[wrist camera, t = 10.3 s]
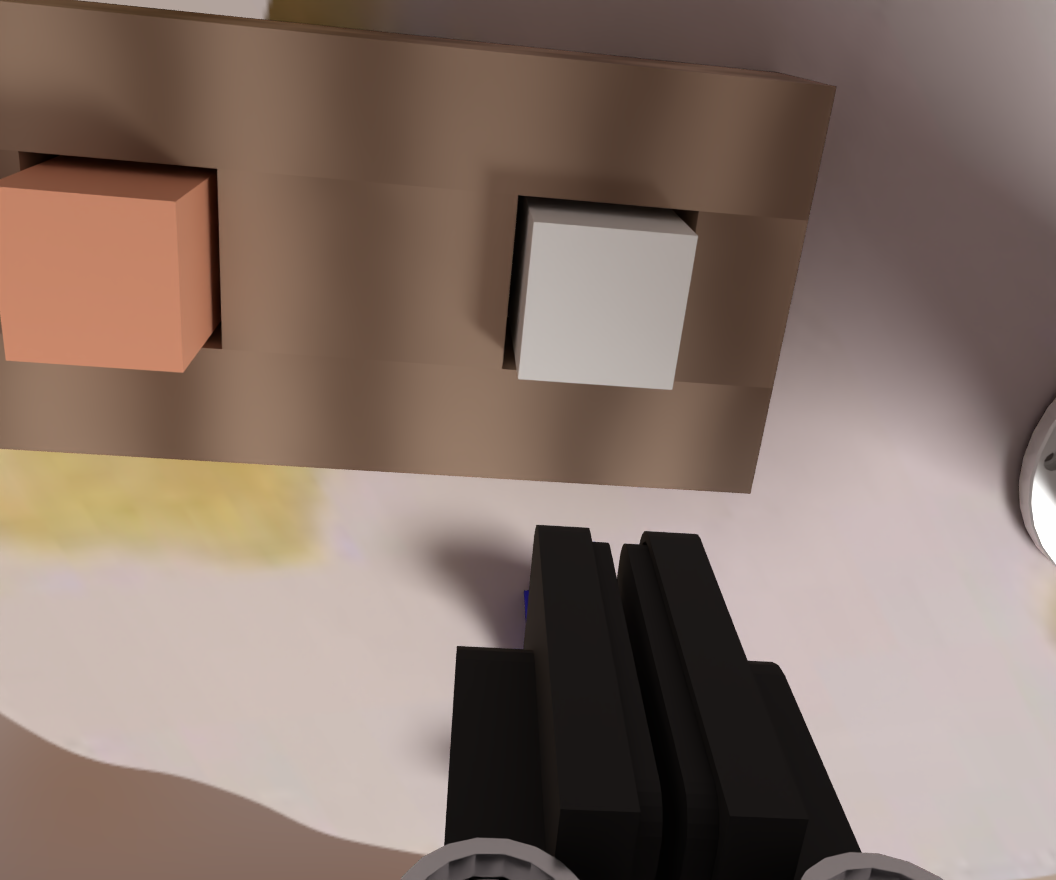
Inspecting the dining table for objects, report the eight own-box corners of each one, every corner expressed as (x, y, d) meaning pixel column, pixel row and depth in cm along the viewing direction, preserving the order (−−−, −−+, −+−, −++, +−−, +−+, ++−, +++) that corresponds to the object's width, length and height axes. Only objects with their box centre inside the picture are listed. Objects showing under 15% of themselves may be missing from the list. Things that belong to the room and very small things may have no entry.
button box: (778, 72, 36) (836, 86, 30) (711, 427, 41) (750, 493, 36) (-36, -12, 33) (-134, -13, 28) (11, 381, 39) (-62, 445, 33)
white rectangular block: (653, 191, 37) (698, 235, 30) (634, 320, 39) (672, 389, 32) (519, 179, 36) (534, 222, 29) (507, 310, 38) (517, 379, 31)
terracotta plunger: (232, 160, 34) (175, 201, 27) (235, 301, 36) (182, 372, 29) (81, 146, 34) (-16, 185, 27) (93, 290, 36) (5, 360, 29)
